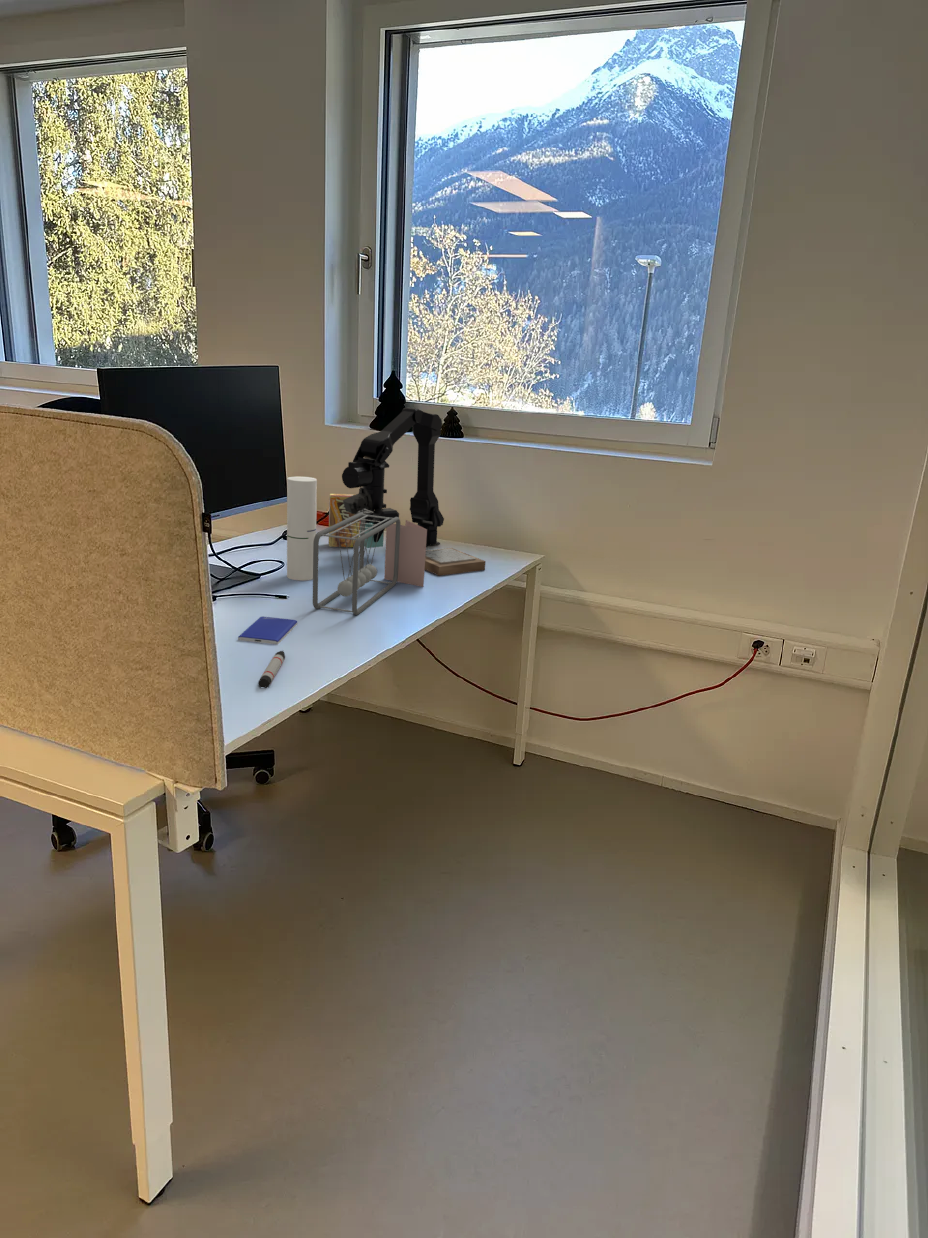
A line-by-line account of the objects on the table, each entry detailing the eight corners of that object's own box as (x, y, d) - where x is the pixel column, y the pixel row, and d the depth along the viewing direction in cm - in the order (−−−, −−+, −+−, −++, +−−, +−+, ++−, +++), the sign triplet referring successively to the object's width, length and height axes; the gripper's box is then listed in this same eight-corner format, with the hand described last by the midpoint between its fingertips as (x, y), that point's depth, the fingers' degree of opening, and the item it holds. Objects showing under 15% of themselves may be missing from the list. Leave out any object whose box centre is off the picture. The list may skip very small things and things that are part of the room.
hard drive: (260, 615, 166) (237, 635, 154) (297, 619, 165) (277, 640, 153) (260, 622, 166) (237, 643, 154) (297, 626, 165) (277, 647, 154)
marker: (269, 689, 134) (269, 678, 134) (258, 688, 134) (257, 678, 134) (287, 656, 149) (287, 647, 148) (277, 656, 149) (277, 646, 148)
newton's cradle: (355, 618, 172) (358, 539, 166) (311, 611, 174) (312, 533, 169) (398, 583, 200) (401, 515, 194) (359, 578, 202) (362, 510, 196)
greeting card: (426, 586, 199) (430, 529, 194) (400, 589, 195) (403, 530, 190) (405, 574, 208) (408, 519, 203) (380, 576, 204) (383, 520, 199)
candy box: (357, 544, 236) (359, 494, 231) (359, 547, 232) (360, 496, 227) (328, 543, 234) (329, 493, 229) (329, 547, 230) (330, 495, 225)
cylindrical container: (321, 577, 199) (322, 480, 191) (298, 582, 194) (298, 482, 186) (304, 571, 204) (305, 475, 196) (281, 575, 199) (281, 477, 191)
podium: (406, 561, 221) (406, 550, 220) (451, 556, 231) (452, 546, 230) (438, 575, 209) (439, 565, 208) (484, 569, 219) (485, 559, 218)
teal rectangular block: (359, 544, 220) (360, 523, 218) (374, 542, 223) (375, 522, 221) (367, 548, 216) (368, 526, 214) (383, 546, 219) (383, 525, 217)
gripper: (331, 480, 216) (330, 534, 221) (365, 492, 202) (363, 550, 207) (366, 478, 223) (364, 532, 228) (401, 490, 209) (398, 546, 214)
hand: (371, 540), depth 219 cm, fingers closed on teal rectangular block, 4 cm apart
